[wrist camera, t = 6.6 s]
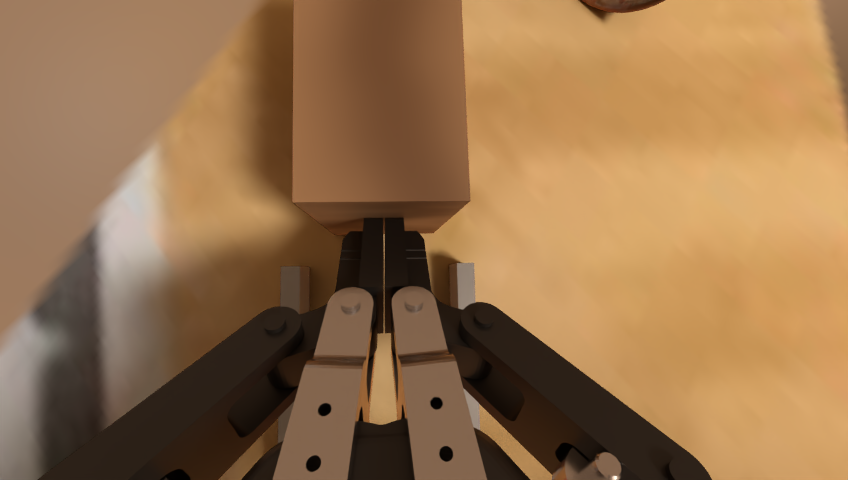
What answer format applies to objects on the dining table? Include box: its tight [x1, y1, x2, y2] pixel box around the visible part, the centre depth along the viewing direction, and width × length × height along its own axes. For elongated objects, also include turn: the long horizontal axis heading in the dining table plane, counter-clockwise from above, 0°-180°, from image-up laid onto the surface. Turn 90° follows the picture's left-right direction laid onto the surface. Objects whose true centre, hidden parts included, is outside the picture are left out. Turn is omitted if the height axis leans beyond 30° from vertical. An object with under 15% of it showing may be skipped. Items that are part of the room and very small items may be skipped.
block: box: [292, 0, 470, 235], centre depth 14 cm, size 5×10×8 cm, turn 2°
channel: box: [278, 263, 480, 443], centre depth 16 cm, size 9×14×2 cm, turn 1°
